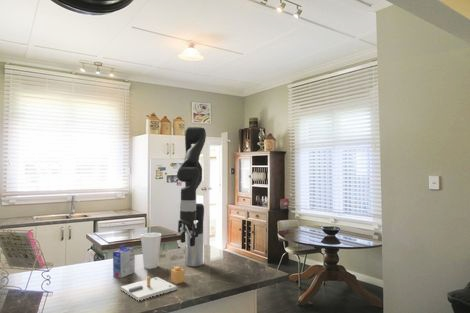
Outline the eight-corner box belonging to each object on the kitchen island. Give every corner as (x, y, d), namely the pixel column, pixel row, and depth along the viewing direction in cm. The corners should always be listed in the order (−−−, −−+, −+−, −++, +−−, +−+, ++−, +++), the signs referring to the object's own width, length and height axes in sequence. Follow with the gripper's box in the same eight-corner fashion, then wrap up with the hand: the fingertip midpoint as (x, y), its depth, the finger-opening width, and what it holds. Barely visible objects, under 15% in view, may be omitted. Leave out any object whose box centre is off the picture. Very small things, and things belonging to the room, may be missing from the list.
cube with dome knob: (170, 281, 153) (171, 267, 153) (178, 279, 156) (178, 265, 156) (176, 284, 149) (176, 269, 150) (184, 281, 152) (184, 267, 153)
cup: (136, 268, 171) (136, 235, 172) (148, 262, 181) (148, 231, 181) (153, 271, 167) (154, 237, 168) (165, 265, 177) (165, 233, 177)
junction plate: (120, 290, 142) (120, 277, 142) (157, 280, 154) (157, 268, 154) (138, 301, 130) (138, 287, 130) (176, 289, 143) (176, 277, 143)
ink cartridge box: (126, 270, 167) (127, 242, 167) (135, 272, 165) (135, 243, 165) (112, 276, 158) (112, 246, 158) (120, 278, 156) (121, 248, 156)
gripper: (173, 208, 156) (173, 242, 156) (189, 212, 145) (188, 248, 145) (187, 207, 161) (186, 240, 160) (203, 210, 150) (202, 246, 149)
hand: (187, 244), depth 152 cm, fingers open, 8 cm apart
